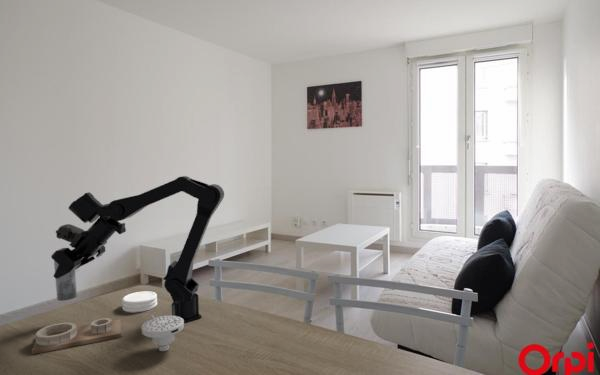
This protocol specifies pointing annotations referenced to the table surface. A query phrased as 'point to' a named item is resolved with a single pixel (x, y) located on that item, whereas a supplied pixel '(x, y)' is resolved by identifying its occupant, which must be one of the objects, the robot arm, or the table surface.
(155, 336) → the showerhead
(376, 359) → the table surface
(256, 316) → the table surface
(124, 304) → the white plate stack
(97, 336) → the fitting board
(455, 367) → the table surface
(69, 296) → the grey lidded canister
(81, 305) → the table surface
